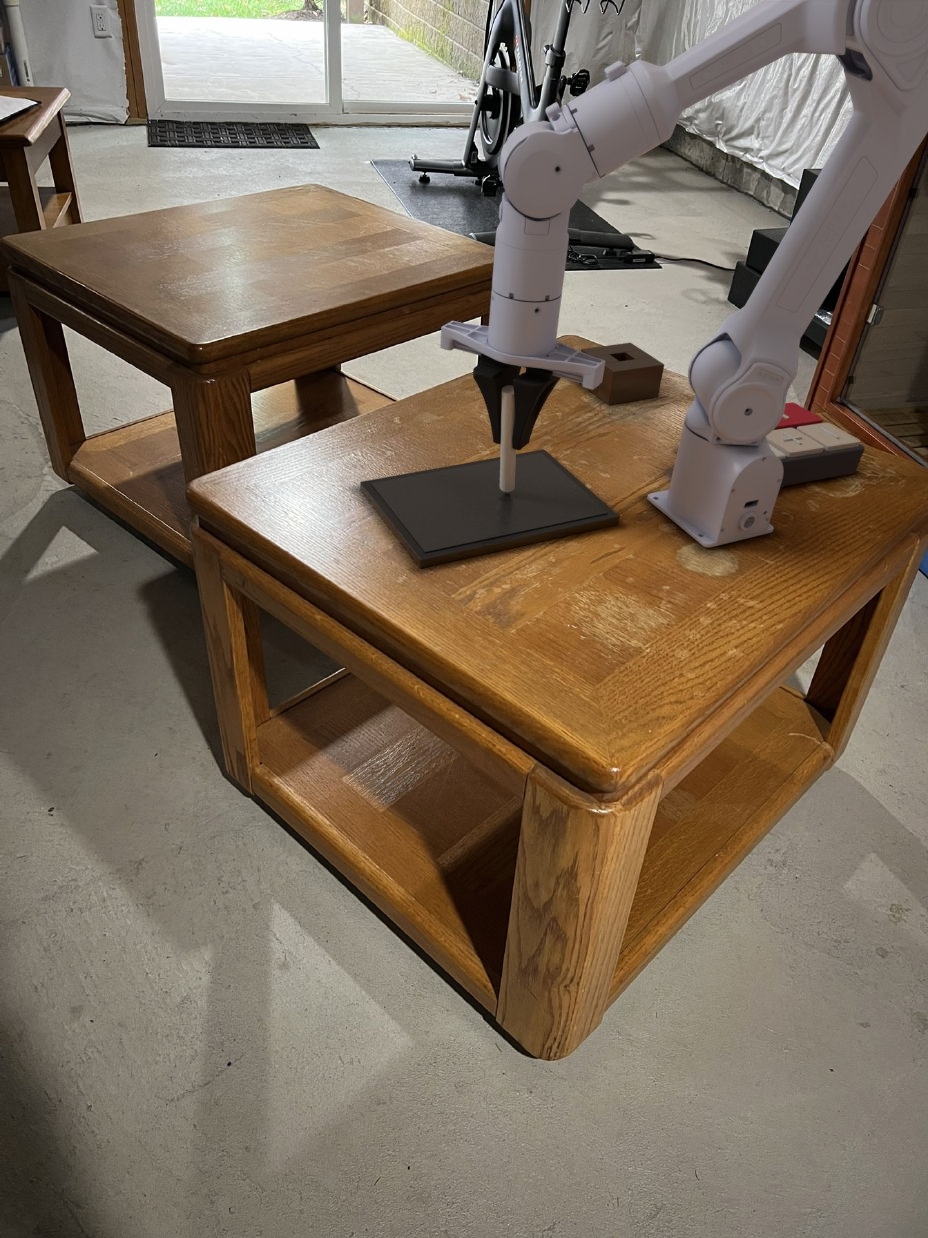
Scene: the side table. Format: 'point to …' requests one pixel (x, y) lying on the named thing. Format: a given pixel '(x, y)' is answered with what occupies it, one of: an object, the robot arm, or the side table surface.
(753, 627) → the side table surface
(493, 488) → the tablet
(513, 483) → the stylus
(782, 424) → the grey box with panels
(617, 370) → the pen stand
